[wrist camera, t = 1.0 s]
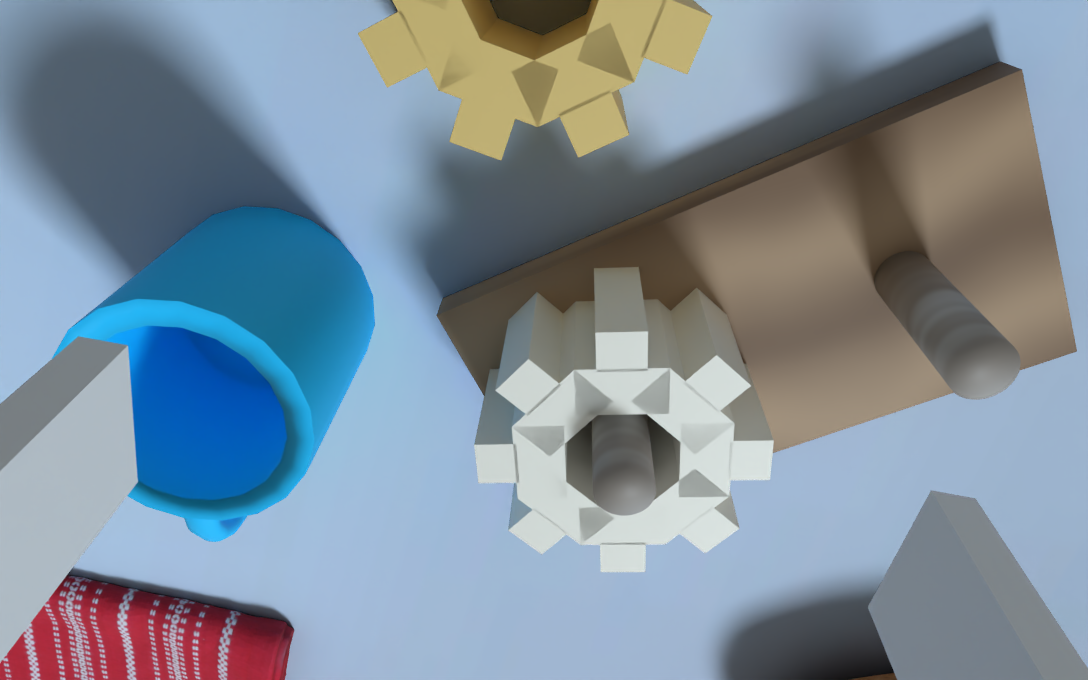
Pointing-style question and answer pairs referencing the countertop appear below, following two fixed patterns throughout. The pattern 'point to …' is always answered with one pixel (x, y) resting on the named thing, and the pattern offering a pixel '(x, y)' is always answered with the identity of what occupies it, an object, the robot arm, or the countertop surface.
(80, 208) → the countertop surface
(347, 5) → the countertop surface
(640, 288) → the cream gear
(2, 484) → the robot arm
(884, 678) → the potato
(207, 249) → the mug
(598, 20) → the ochre gear
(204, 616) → the dish towel
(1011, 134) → the walnut board
